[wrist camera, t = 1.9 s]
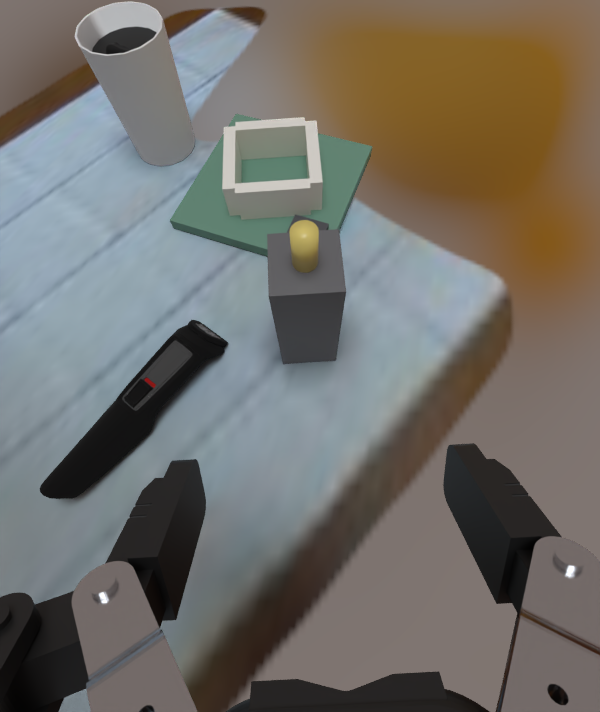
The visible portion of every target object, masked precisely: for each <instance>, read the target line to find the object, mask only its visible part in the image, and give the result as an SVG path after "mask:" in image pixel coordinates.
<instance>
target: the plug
mask: <svg viewBox="0 0 600 712" xmlns="http://www.w3.org/2000/svg"><path fill="white" fill-rule="evenodd" d="M267 250H268V284H269V300H270V304H271V309H272V314H273V318H274V323H275V328H276V333H277V337H278V342H279V347H280V352H281V356H282V361H283V364H289V363H305V362H320V361H336V355H337V348H338V341H339V335H340V328H341V321H342V315H343V308H344V302H345V295H346V287H345V278H344V270H343V261H342V252H341V244H340V235H339V229H334V230H318V227H317V225H316V224H315V223H313V222H311V221H308V220H300V221H297V222H295V223H294V224H293V225H292V226H291V228H290V231H289V233H274V234H267Z"/></svg>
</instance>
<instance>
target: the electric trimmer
mask: <svg viewBox="0 0 600 712" xmlns="http://www.w3.org/2000/svg"><path fill="white" fill-rule="evenodd" d="M205 339H206V340H205ZM227 343H228V342H227V341H225V340H224V339H223V338H221V337H220V336H219V335H217V334H216V333H214V332H213V331H212V330H210V329H209V328H208V327H206V326H205V325H204V324H202V323H201V322H199V321H196V320H191V321H190V322H189V323H188V325H186V326H184V327H182V328H180V329H178V330H177V331H176V332H175V333H174V334H173V335H172V336H171V337H170V338H169V339H168V340H167V341H166V342H165V343H164V344H163V345H162V347H161V348H160V349H159V350H158V351H157V352H156V353H155V355H154V356H153V357H152V358H151V359H150V360H149V361H148V362H147V364H146V365H145V366H144V367H143V368H142V369H141V370H140V371H139V373H138V374H137V375H136V376H135V377H134V378H133V379H132V381H131V382H130V383H129V384H128V385H127V386H126V388H125V389H124V390H123V391H122V393H121V394H120V395H119V396H118V398H117V399H116V401H115V402H114V403H113V404H112V405H111V406H110V407H109V408H108V409H107V411H106V412H105V413H104V414H103V415H102V416H101V417H100V419H99V420H98V421H97V422H96V423H95V424H94V425H93V427H92V428H91V429H90V430H89V431H88V432H87V433H86V435H85V436H84V437H83V438H82V439H81V440H80V441H79V442H78V444H77V445H76V446H75V447H74V448H73V449H72V450H71V451H70V453H69V454H68V455H67V456H66V457H65V458H64V459H63V461H62V462H61V463H60V464H59V465H58V466H57V467H56V468H55V470H54V471H53V472H52V473H51V474H50V475H49V476H48V477H47V479H46V480H45V481H44V482H43V483H42V485H41V487H40V492H41V493H42V494H43V495H44V496H46V497H49V498H56V499H61V498H75V497H77V496H79V495H80V494H82V493H83V492H84V491H85V490H86V489H88V488H89V487H90V486H91V485H92V484H94V483H95V482H96V481H97V480H98V479H99V478H100V477H102V476H103V475H104V474H105V473H106V472H107V471H108V470H109V469H110V468H112V467H113V466H114V465H115V464H116V463H117V462H118V461H119V460H120V459H122V458H123V457H124V456H125V455H126V454H127V453H128V452H129V451H130V450H132V449H133V448H134V447H135V446H136V445H137V444H138V443H139V442H140V441H141V440H142V439H143V438H144V437H145V436H146V435H148V434H149V432H150V431H151V430H152V426H153V423H154V419H155V417H156V415H157V413H158V412H159V410H160V409H161V408H162V406H163V405H164V404H165V403H166V402H167V401H168V400H169V399H170V398H171V397H172V396H173V395H174V393H175V392H176V391H177V390H178V389H179V388H180V387H181V386H182V385H183V384H184V383H185V382H186V381H187V379H188V378H189V377H190V376H191V375H192V374H193V373H194V372H195V371H196V370H197V369H198V368H199V366H200V365H201V364H202V363H203V362H204V361H205V360H207V359H209V358H211V357H215V356H218V355H221V354H222V353H223V352H224V348H223V347H224V346H225V345H226V344H227Z"/></svg>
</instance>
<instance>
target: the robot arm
mask: <svg viewBox="0 0 600 712" xmlns="http://www.w3.org/2000/svg"><path fill="white" fill-rule="evenodd" d="M444 494H445V498H446V501H447V503H448V506H449V508H450V510H451V512H452V513H453V516H454V518H455V520H456V522H457V524H458V526H459V528H460V530H461V532H462V534H463V536H464V538H465V540H466V542H467V545H468V547H469V549H470V551H471V553H472V555H473V557H474V558H475V561H476V562H477V565H478V567H479V569H480V571H481V573H482V575H483V577H484V579H485V581H486V583H487V585H488V587H489V589H490V591H491V593H492V595H493V597H494V600H495V601H496V603H497V604H501V603H513V605H514V607H515V609H516V611H517V617H516V621H515V626H514V631H513V635H512V640H511V644H510V649H509V654H508V659H507V663H506V668H505V673H504V677H503V682H502V686H501V691H500V695H499V700H498V703H497V708H496V712H600V561H599V560H598V559H597V557H596V556H594V554H593V553H591V552H590V551H589V550H588V549H586V548H585V547H583V546H581V545H580V544H578V543H576V542H574V541H571V540H569V539H566V538H562V537H561V536H560V534H559V533H558V532H557V530H556V529H555V528H554V526H553V525H552V524H551V523H550V521H549V520H548V519H547V517H546V516H545V515H544V513H543V512H542V511H541V510H540V508H539V507H538V506H537V504H536V503H535V502H534V501H533V499H532V498H531V497H530V496H528V493H527V492H526V490H525V489H524V488H523V486H522V485H520V482H519V481H518V480H517V479H516V477H515V476H514V475H513V473H512V472H511V471H510V470H509V469H508V468H506V467H505V466H504V465H502V464H501V463H499V462H498V461H497V460H495V459H486V458H485V457H484V455H483V454H482V452H481V451H480V450H479V448H478V447H477V446H476V445H475V444H458V445H449V446H448V449H447V457H446V465H445V474H444ZM135 505H136V506H135V507H134V508H133V510H132V512H131V514H130V518H129V519H128V520H127V522H126V524H125V526H124V528H123V530H122V532H121V534H120V536H119V538H118V540H117V542H116V544H115V546H114V548H113V550H112V552H111V554H110V556H109V558H108V560H107V561H106V563H105V564H103V565H101V566H99V567H97V568H95V569H94V570H92V571H91V572H90V573H88V574H87V575H86V576H85V577H84V578H83V579H82V580H81V581H80V583H79V584H78V585H77V587H76V589H75V591H72V592H70V593H67V594H65V595H62V596H59V597H56V598H53V599H50V600H47V601H44V602H41V603H38V604H34V602H33V600H32V598H31V597H30V596H29V595H27V594H25V593H12V594H8V595H5V596H2V597H0V712H58V711H59V709H60V706H61V704H62V701H63V699H64V697H66V696H69V695H71V694H74V693H76V692H78V691H81V690H83V689H86V688H87V694H88V699H89V704H90V708H91V712H197V709H196V707H195V705H194V702H193V700H192V698H191V695H190V693H189V691H188V688H187V686H186V684H185V682H184V679H183V677H182V675H181V672H180V670H179V668H178V665H177V663H176V661H175V658H174V656H173V654H172V652H171V649H170V647H169V645H168V642H167V640H166V638H165V636H164V634H163V632H162V630H160V626H161V623H162V621H165V620H176V618H177V615H178V611H179V607H180V604H181V600H182V597H183V593H184V589H185V586H186V582H187V578H188V575H189V571H190V567H191V564H192V560H193V557H194V553H195V549H196V546H197V542H198V538H199V535H200V531H201V527H202V524H203V520H204V516H205V510H206V499H205V493H204V488H203V483H202V478H201V473H200V468H199V464H198V461H197V460H196V459H194V460H177V461H172V462H171V463H170V465H169V467H168V470H167V472H166V474H165V476H164V478H155V479H154V480H153V481H152V482H151V483H150V484H149V485H148V486H147V487H146V488H145V489H143V490H142V492H141V494H140V496H139V498H138V500H137V502H136V504H135ZM226 712H489V711H488V710H486V709H485V708H483V707H482V706H480V705H479V704H478V703H476V702H474V701H472V700H471V699H469V698H467V697H465V696H463V695H460V694H458V693H456V692H453V691H450V690H447V689H444V686H443V683H442V680H441V676H440V673H439V672H425V673H424V672H423V673H404V674H392V675H389V676H387V677H384V678H381V679H379V680H376V681H374V682H371V683H369V684H366V685H364V686H361V687H358V688H356V689H354V690H350V691H341V690H337V689H333V688H329V687H325V686H321V685H318V684H314V683H310V682H306V681H303V680H299V679H291V680H272V681H253V682H251V695H250V699H248V700H245V701H243V702H241V703H239V704H237V705H235V706H234V707H232V708H230V709H229V710H228V711H226Z"/></svg>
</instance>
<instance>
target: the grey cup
mask: <svg viewBox="0 0 600 712" xmlns="http://www.w3.org/2000/svg"><path fill="white" fill-rule="evenodd" d="M75 39H76V41H77V43H78V45H79V47H80V48H81V50H82V52H83V54H84V56H85V57H86V59H87V61H88V63H89V65H90V66H91V68H92V70H93V72H94V74H95V76H96V77H97V79H98V81H99V83H100V85H101V86H102V88H103V90H104V92H105V94H106V95H107V97H108V99H109V101H110V103H111V104H112V106H113V108H114V110H115V112H116V113H117V115H118V117H119V119H120V121H121V122H122V124H123V126H124V128H125V130H126V131H127V133H128V135H129V137H130V139H131V141H132V142H133V144H134V146H135V148H136V150H137V151H138V153H139V155H140V157H141V159H143V160H144V161H146V162H147V163H149V164H152V165H156V166H167V165H173V164H175V163H178V162H180V161H182V160H184V159H185V158H186V157H187V156H188V155H190V154H191V152H192V150H193V148H194V146H195V136H194V133H193V129H192V126H191V122H190V118H189V114H188V111H187V107H186V103H185V100H184V96H183V92H182V89H181V85H180V81H179V77H178V74H177V70H176V66H175V63H174V59H173V55H172V52H171V48H170V44H169V40H168V37H167V33H166V29H165V26H164V22H163V18H162V17H161V16H160V14H159V12H158V11H157V9H155V8H153V7H151V6H149V5H147V4H144V3H138V2H119V3H113V4H110V5H106V6H104V7H100V8H98V9H96V10H95V11H93V12H92V13H90V14H88V15H87V16H85V17H84V18H83V19H82V21H81V22H80V23H79V24H78V26H77V28H76V33H75Z"/></svg>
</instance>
